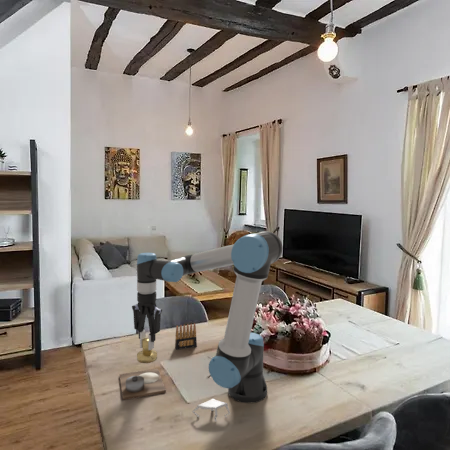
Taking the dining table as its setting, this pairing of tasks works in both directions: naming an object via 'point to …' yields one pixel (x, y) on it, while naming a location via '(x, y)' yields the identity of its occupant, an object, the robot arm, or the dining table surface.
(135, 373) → the carrier plate
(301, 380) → the dining table surface
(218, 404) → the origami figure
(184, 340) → the ammunition clip
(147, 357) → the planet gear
